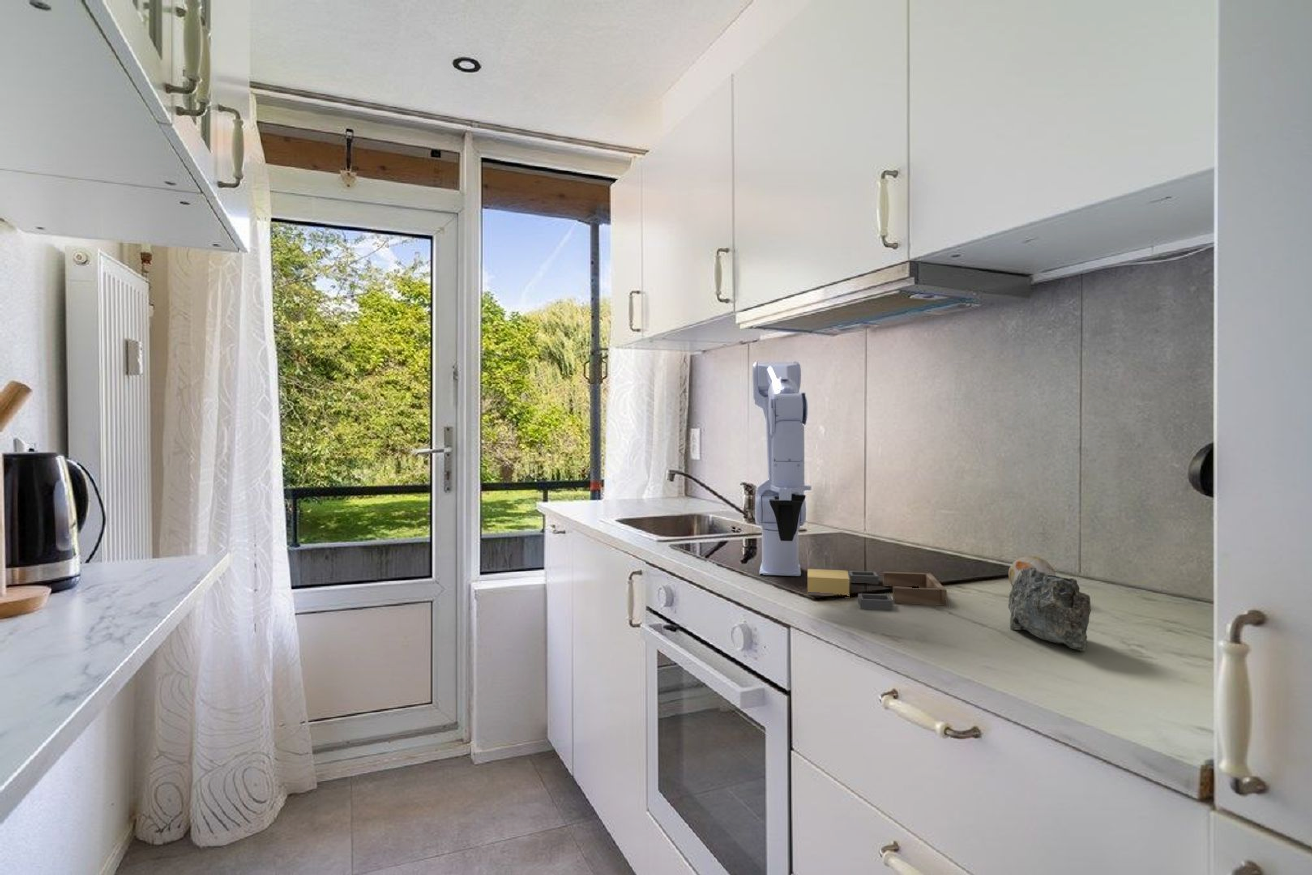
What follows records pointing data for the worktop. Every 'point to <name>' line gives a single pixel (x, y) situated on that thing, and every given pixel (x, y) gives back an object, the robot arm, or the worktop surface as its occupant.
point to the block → (828, 581)
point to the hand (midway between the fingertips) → (788, 537)
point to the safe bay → (925, 594)
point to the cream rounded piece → (1027, 563)
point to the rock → (1050, 608)
